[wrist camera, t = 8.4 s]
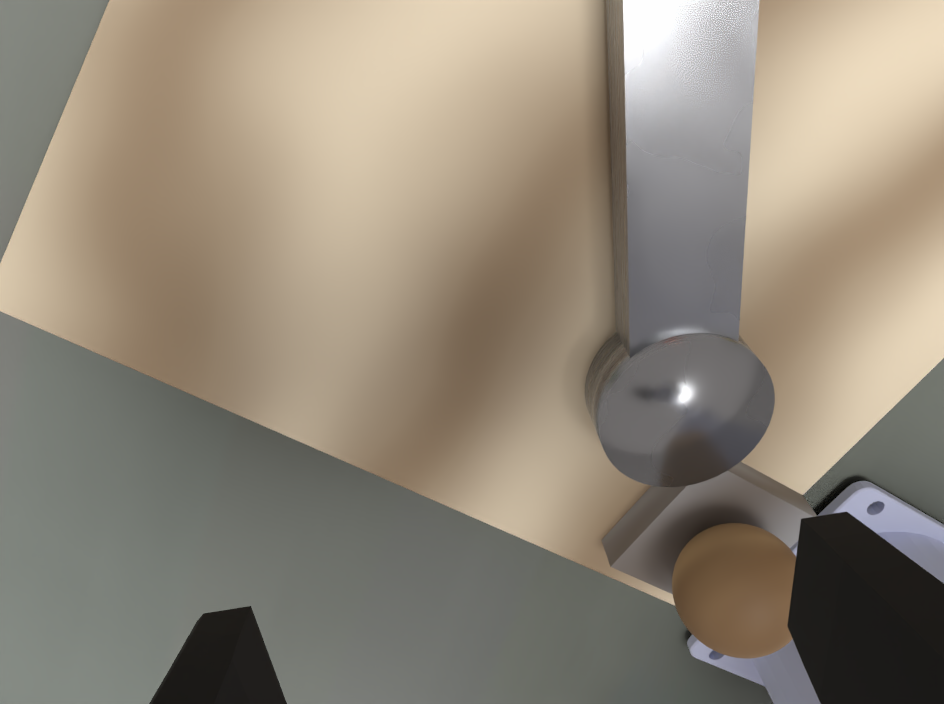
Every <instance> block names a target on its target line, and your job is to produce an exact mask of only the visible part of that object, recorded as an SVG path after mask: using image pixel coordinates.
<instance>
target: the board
mask: <svg viewBox="0 0 944 704" xmlns="http://www.w3.org/2000/svg"><path fill="white" fill-rule="evenodd" d="M0 311H1V312H4V313H6V314H8V315H10V316H13V317H15V318H17V319H20V320H22V321H24V322H27V323H29V324H31V325H33V326H36V327H38V328H40V329H43V330H45V331H47V332H49V333H52V334H54V335H56V336H59V337H61V338H63V339H65V340H68V341H70V342H72V343H75V344H77V345H79V346H81V347H84V348H86V349H88V350H91V351H93V352H95V353H98V354H100V355H102V356H104V357H107V358H109V359H111V360H114V361H116V362H118V363H120V364H123V365H125V366H127V367H130V368H132V369H134V370H136V371H139V372H141V373H143V374H146V375H148V376H150V377H153V378H155V379H157V380H159V381H162V382H164V383H166V384H169V385H171V386H173V387H175V388H178V389H180V390H182V391H185V392H187V393H189V394H191V395H194V396H196V397H198V398H201V399H203V400H205V401H207V402H210V403H212V404H214V405H217V406H219V407H221V408H224V409H226V410H228V411H230V412H233V413H235V414H237V415H240V416H242V417H244V418H246V419H249V420H251V421H253V422H256V423H258V424H260V425H262V426H265V427H267V428H269V429H272V430H274V431H276V432H279V433H281V434H283V435H285V436H288V437H290V438H292V439H295V440H297V441H299V442H301V443H304V444H306V445H308V446H311V447H313V448H315V449H317V450H320V451H322V452H324V453H327V454H329V455H331V456H333V457H336V458H338V459H340V460H343V461H345V462H347V463H350V464H352V465H354V466H356V467H359V468H361V469H363V470H366V471H368V472H370V473H372V474H375V475H377V476H379V477H382V478H384V479H386V480H388V481H391V482H393V483H395V484H398V485H400V486H402V487H405V488H407V489H409V490H411V491H414V492H416V493H418V494H421V495H423V496H425V497H427V498H430V499H432V500H434V501H437V502H439V503H441V504H443V505H446V506H448V507H450V508H453V509H455V510H457V511H459V512H462V513H464V514H466V515H469V516H471V517H473V518H476V519H478V520H480V521H482V522H485V523H487V524H489V525H492V526H494V527H496V528H498V529H501V530H503V531H505V532H508V533H510V534H512V535H514V536H517V537H519V538H521V539H524V540H526V541H528V542H531V543H533V544H535V545H537V546H540V547H542V548H544V549H547V550H549V551H551V552H553V553H556V554H558V555H560V556H563V557H565V558H567V559H569V560H572V561H574V562H576V563H579V564H581V565H583V566H585V567H588V568H590V569H592V570H595V571H597V572H599V573H602V574H604V575H606V576H608V577H611V578H613V579H615V580H618V581H620V582H622V583H624V584H627V585H629V586H631V587H634V588H636V589H638V590H640V591H643V592H645V593H647V594H650V595H652V596H654V597H657V598H659V599H661V600H663V601H666V602H668V603H670V604H673V605H675V606H676V609H677V612H678V614H679V616H680V618H681V620H682V622H683V623H684V624H685V626H686V627H687V629H688V630H689V631H690V632H691V633H692V634H693V635H694V636H695V637H696V638H697V639H698V640H699V641H700V642H701V643H703V644H704V645H705V646H707V647H708V648H710V649H712V650H714V651H716V652H718V653H720V654H723V655H727V656H730V657H735V658H745V659H750V658H758V657H763V656H766V655H769V654H772V653H774V652H776V651H778V650H780V649H781V648H783V647H784V646H786V645H787V644H788V643H789V642H790V641H791V640H792V639H793V638H792V636H791V634H790V631H789V629H788V626H787V624H788V617H789V609H790V601H791V593H792V586H793V578H794V570H795V562H796V556H795V554H794V553H793V552H792V551H791V549H790V548H791V547H792V546H793V545H794V544H795V543H796V542H797V541H798V539H799V531H800V523H801V519H803V518H809V517H815V516H817V515H816V513H815V512H814V511H813V509H812V508H811V506H810V505H809V503H808V502H807V501H806V499H805V498H804V496H803V494H804V493H805V492H806V491H807V490H808V489H810V488H811V487H812V486H813V485H814V484H815V483H816V482H817V481H818V480H819V479H820V478H821V477H822V476H823V475H824V474H825V473H826V472H827V471H828V470H829V469H830V468H831V467H832V466H833V465H834V464H835V463H836V462H837V461H838V460H839V459H840V458H841V457H842V456H843V455H844V454H845V453H846V452H848V451H849V450H850V449H851V448H852V447H853V446H854V445H855V444H856V443H857V442H858V441H859V440H860V439H861V438H862V437H863V436H864V435H865V434H866V433H867V432H868V431H869V430H870V429H871V428H872V427H873V426H874V425H875V424H876V423H877V422H878V421H879V420H880V419H881V418H882V417H883V416H885V415H886V414H887V413H888V412H889V411H890V410H891V409H892V408H893V407H894V406H895V405H896V404H897V403H898V402H899V401H900V400H901V399H902V398H903V397H904V396H905V395H906V394H907V393H908V392H909V391H910V390H911V389H912V388H913V387H914V386H915V385H916V384H917V383H918V382H919V381H920V380H921V379H923V378H924V377H925V376H926V375H927V374H928V373H929V372H930V371H931V370H932V369H933V368H934V367H935V366H936V365H937V364H938V363H939V362H940V361H941V360H942V359H943V358H944V0H759V16H758V32H757V48H756V65H755V81H754V97H753V113H752V129H751V145H750V162H749V178H748V194H747V210H746V226H745V242H744V259H743V275H742V291H741V307H740V323H739V335H740V336H741V338H742V339H743V340H744V341H745V343H746V344H747V345H748V346H749V348H750V349H751V350H752V351H753V352H754V354H755V355H756V356H757V357H758V359H759V360H760V361H761V362H762V364H763V365H764V366H765V367H766V369H767V371H768V373H769V375H770V376H771V379H772V382H773V386H774V393H775V404H774V410H773V415H772V418H771V421H770V424H769V426H768V428H767V430H766V432H765V434H764V436H763V437H762V439H761V440H760V442H759V443H758V444H757V445H756V447H755V448H754V449H753V450H752V451H751V452H750V453H749V454H748V455H747V456H746V457H745V458H744V459H743V460H742V461H740V462H739V463H738V464H737V465H735V466H734V467H732V468H731V469H729V470H728V471H726V472H724V473H722V474H720V475H719V476H717V477H714V478H712V479H709V480H707V481H704V482H701V483H697V484H693V485H688V486H682V487H657V486H651V485H646V484H643V483H640V482H637V481H635V480H633V479H631V478H629V477H627V476H625V475H624V474H623V473H621V472H620V471H619V470H618V469H617V468H616V467H615V466H614V465H613V464H612V463H611V462H610V460H609V459H608V457H607V455H606V453H605V451H604V449H603V447H602V445H601V442H600V440H599V437H598V435H597V432H596V430H595V427H594V425H593V422H592V420H591V417H590V415H589V412H588V409H587V406H586V401H585V382H586V376H587V373H588V370H589V367H590V365H591V363H592V361H593V359H594V357H595V355H596V354H597V352H598V351H599V349H600V348H601V347H602V346H603V344H604V343H605V342H606V341H607V340H608V339H609V338H610V337H611V336H612V335H613V334H614V333H615V332H616V321H615V287H614V252H613V217H612V183H611V148H610V114H609V79H608V45H607V10H606V0H109V3H108V5H107V8H106V10H105V13H104V15H103V17H102V20H101V22H100V25H99V27H98V29H97V32H96V34H95V37H94V39H93V41H92V44H91V46H90V49H89V51H88V53H87V56H86V58H85V61H84V63H83V66H82V68H81V70H80V73H79V75H78V78H77V80H76V82H75V85H74V87H73V90H72V92H71V94H70V97H69V99H68V102H67V104H66V107H65V109H64V111H63V114H62V116H61V119H60V121H59V123H58V126H57V128H56V131H55V133H54V135H53V138H52V140H51V143H50V145H49V147H48V150H47V152H46V155H45V157H44V160H43V162H42V164H41V167H40V169H39V172H38V174H37V176H36V179H35V181H34V184H33V186H32V188H31V191H30V193H29V196H28V198H27V201H26V203H25V205H24V208H23V210H22V213H21V215H20V217H19V220H18V222H17V225H16V227H15V229H14V232H13V234H12V237H11V239H10V241H9V244H8V246H7V249H6V251H5V254H4V256H3V258H2V261H1V263H0Z"/></svg>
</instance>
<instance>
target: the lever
mask: <svg viewBox="0 0 944 704" xmlns="http://www.w3.org/2000/svg"><path fill="white" fill-rule="evenodd" d="M606 10H607V45H608V79H609V114H610V148H611V183H612V217H613V252H614V287H615V321H616V332H615V333H614V334H613V335H612V336H611V337H610V338H609V339H608V340H607V341H606V342H605V343H604V344H603V346H602V347H601V348H600V349H599V351H598V352H597V354H596V355H595V357H594V359H593V361H592V363H591V365H590V367H589V370H588V373H587V376H586V382H585V401H586V406H587V409H588V412H589V415H590V417H591V420H592V422H593V425H594V427H595V430H596V432H597V435H598V437H599V440H600V442H601V445H602V447H603V449H604V451H605V453H606V455H607V457H608V459H609V460H610V462H611V463H612V464H613V465H614V466H615V467H616V468H617V469H618V470H619V471H620V472H621V473H623V474H624V475H625V476H627V477H629V478H631V479H633V480H635V481H637V482H640V483H643V484H646V485H651V486H657V487H682V486H688V485H693V484H697V483H701V482H704V481H707V480H709V479H712V478H714V477H717V476H719V475H720V474H722V473H724V472H726V471H728V470H729V469H731V468H732V467H734V466H735V465H737V464H738V463H739V462H740V461H742V460H743V459H744V458H745V457H746V456H747V455H748V454H749V453H750V452H751V451H752V450H753V449H754V448H755V447H756V445H757V444H758V443H759V442H760V440H761V439H762V437H763V436H764V434H765V432H766V430H767V428H768V426H769V424H770V421H771V418H772V415H773V410H774V404H775V393H774V386H773V382H772V379H771V376H770V375H769V373H768V371H767V369H766V367H765V366H764V365H763V364H762V362H761V361H760V360H759V359H758V357H757V356H756V355H755V354H754V352H753V351H752V350H751V349H750V348H749V346H748V345H747V344H746V343H745V341H744V340H743V339H742V338H741V336H740V335H739V323H740V307H741V291H742V275H743V259H744V242H745V226H746V210H747V194H748V178H749V162H750V145H751V129H752V113H753V97H754V81H755V65H756V48H757V32H758V16H759V0H606Z"/></svg>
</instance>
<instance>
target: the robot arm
mask: <svg viewBox="0 0 944 704" xmlns="http://www.w3.org/2000/svg"><path fill="white" fill-rule="evenodd" d="M873 502H874V503H873ZM872 503H873V504H872ZM870 504H871V505H870ZM790 549H791V551H792V552H793V553H794V554H795V556H796V562H795V570H794V578H793V586H792V593H791V601H790V609H789V617H788V624H787V626H788V629H789V631H790V634H791V636H792V638H793V639H792V640H791V641H790V642H789V643H788V644H787V645H786V646H784V647H783V648H781V649H780V650H778V651H776V652H774V653H772V654H769V655H766V656H763V657H758V658H750V659H745V658H735V657H730V656H727V655H723V654H720V653H718V652H716V651H714V650H712V649H710V648H708V647H707V646H705V645H704V644H703V643H701V642H700V641H699V640H698V639H697V638H696V637H695V636H694V635H693V634H692V635H691V636H690V638H689V639H688V641H687V646H688V648H689V650H690V653H691V655H692V656H693V657H695V658H697V659H699V660H702V661H704V662H707V663H709V664H711V665H714V666H716V667H719V668H721V669H724V670H726V671H728V672H731V673H733V674H736V675H738V676H741V677H743V678H746V679H748V680H750V681H753V682H755V683H758V684H760V685H763V686H765V687H766V689H767V691H768V693H769V695H770V697H771V699H772V702H773V704H944V524H942V523H940V522H939V521H937V520H935V519H933V518H932V517H930V516H928V515H926V514H925V513H923V512H921V511H920V510H918V509H916V508H914V507H913V506H911V505H909V504H907V503H906V502H904V501H902V500H900V499H899V498H897V497H895V496H894V495H892V494H890V493H888V492H887V491H885V490H883V489H881V488H880V487H878V486H876V485H874V484H873V483H871V482H868V481H858V482H855V483H852V484H851V485H849V486H848V487H847V488H846V489H845V490H844V491H843V492H842V493H840V494H839V495H838V496H837V497H836V498H835V499H834V500H833V501H832V502H831V503H830V504H829V505H828V506H827V507H826V508H825V509H824V510H823V511H822V512H820V513H819V514H818V515H817V516H815V517H809V518H803V519H801V523H800V531H799V539H798V541H797V542H796V543H795V544H794V545H793V546H792V547H791V548H790ZM149 704H287V703H286V700H285V698H284V695H283V692H282V690H281V687H280V684H279V681H278V679H277V676H276V673H275V671H274V668H273V665H272V662H271V660H270V657H269V654H268V652H267V649H266V646H265V643H264V641H263V638H262V635H261V633H260V630H259V627H258V624H257V622H256V619H255V616H254V614H253V611H252V608H251V606H249V607H243V608H237V609H230V610H224V611H218V612H211V613H205V614H203V615H202V616H201V617H200V619H199V620H198V621H197V622H196V624H195V626H194V628H193V629H192V631H191V633H190V635H189V636H188V638H187V640H186V642H185V643H184V645H183V647H182V649H181V650H180V652H179V654H178V656H177V657H176V659H175V661H174V663H173V664H172V666H171V668H170V670H169V671H168V673H167V675H166V676H165V678H164V680H163V682H162V683H161V685H160V687H159V688H158V690H157V692H156V693H155V695H154V697H153V698H152V700H151V702H150V703H149Z"/></svg>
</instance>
